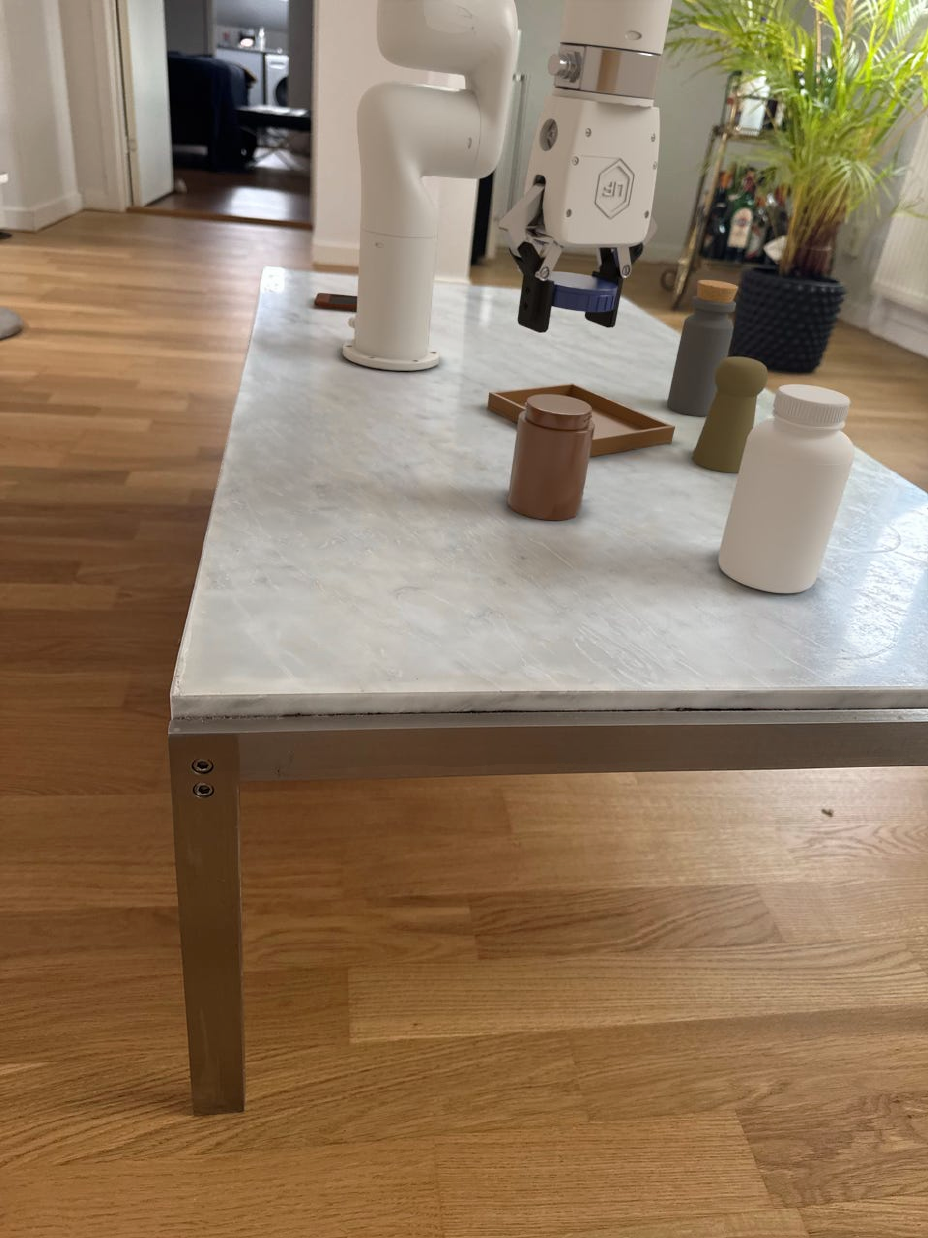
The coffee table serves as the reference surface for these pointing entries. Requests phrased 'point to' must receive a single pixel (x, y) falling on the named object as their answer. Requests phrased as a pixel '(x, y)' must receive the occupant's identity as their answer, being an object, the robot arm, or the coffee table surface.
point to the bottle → (702, 348)
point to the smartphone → (336, 301)
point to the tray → (593, 418)
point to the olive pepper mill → (730, 414)
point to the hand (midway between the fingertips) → (566, 324)
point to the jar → (551, 457)
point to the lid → (583, 292)
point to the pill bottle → (788, 491)
